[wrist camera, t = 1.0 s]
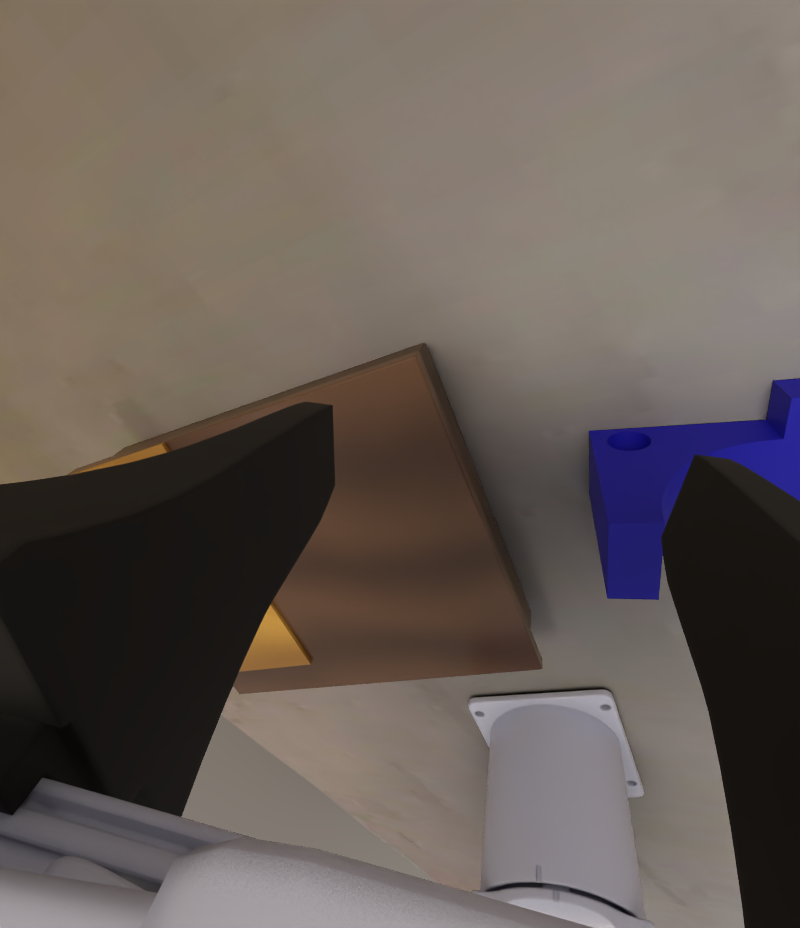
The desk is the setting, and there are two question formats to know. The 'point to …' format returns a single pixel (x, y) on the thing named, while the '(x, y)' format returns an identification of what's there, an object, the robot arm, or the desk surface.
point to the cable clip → (676, 481)
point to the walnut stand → (383, 543)
